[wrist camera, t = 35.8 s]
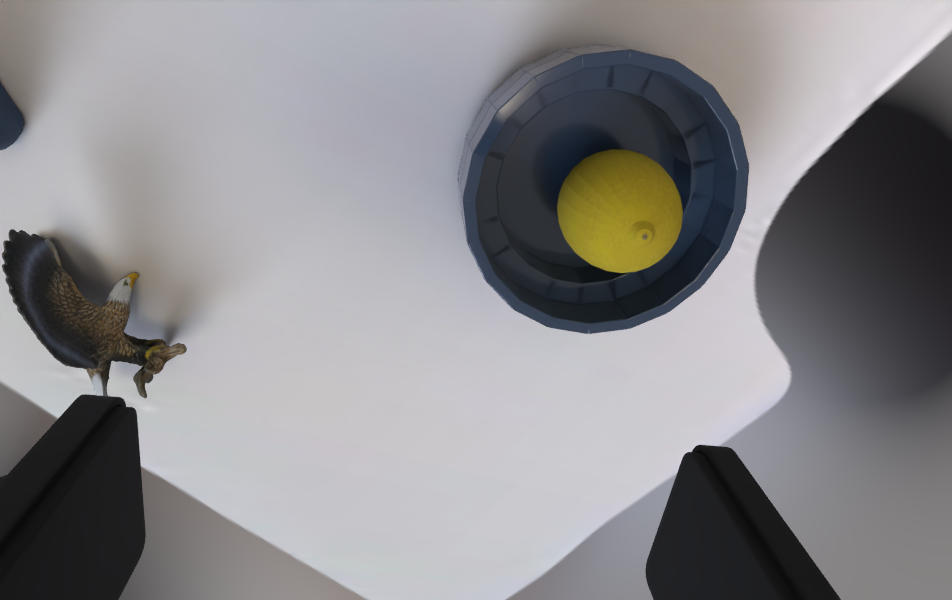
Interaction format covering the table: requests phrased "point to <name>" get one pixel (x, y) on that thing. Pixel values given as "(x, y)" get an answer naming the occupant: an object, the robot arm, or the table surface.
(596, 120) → the bowl
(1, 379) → the table surface
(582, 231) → the lemon
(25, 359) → the table surface
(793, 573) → the robot arm
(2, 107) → the vaping device
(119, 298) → the eagle figurine
